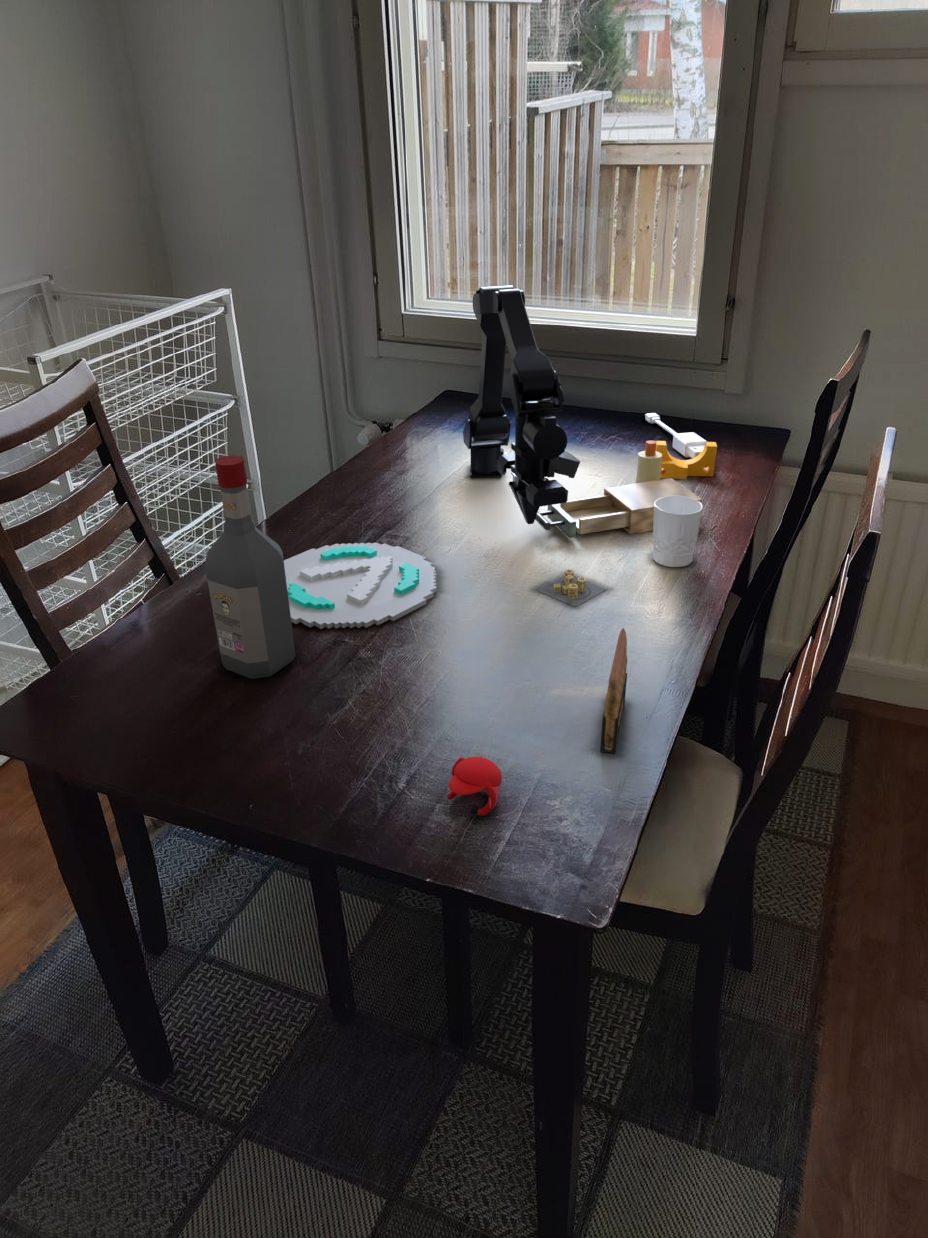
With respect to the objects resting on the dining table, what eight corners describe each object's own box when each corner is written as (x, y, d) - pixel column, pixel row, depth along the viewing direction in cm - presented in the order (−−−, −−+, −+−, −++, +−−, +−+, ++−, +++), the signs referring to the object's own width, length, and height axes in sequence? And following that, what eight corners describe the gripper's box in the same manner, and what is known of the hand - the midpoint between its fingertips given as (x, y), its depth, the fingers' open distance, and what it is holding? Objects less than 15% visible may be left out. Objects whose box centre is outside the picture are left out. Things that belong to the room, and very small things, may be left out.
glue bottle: (645, 499, 180) (650, 447, 174) (630, 491, 183) (634, 440, 178) (663, 493, 182) (668, 442, 176) (647, 486, 185) (652, 436, 180)
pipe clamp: (654, 477, 189) (657, 447, 186) (653, 470, 193) (656, 440, 190) (714, 479, 188) (718, 449, 185) (711, 471, 192) (715, 441, 188)
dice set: (568, 578, 151) (568, 568, 150) (592, 589, 148) (593, 578, 147) (548, 589, 148) (548, 578, 147) (572, 600, 145) (573, 589, 144)
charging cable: (657, 420, 224) (658, 407, 222) (714, 461, 195) (716, 446, 194) (637, 422, 223) (638, 408, 221) (692, 463, 195) (693, 448, 193)
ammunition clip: (610, 702, 121) (616, 623, 115) (624, 704, 121) (631, 625, 114) (600, 752, 112) (606, 669, 106) (615, 754, 112) (622, 671, 106)
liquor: (261, 685, 126) (229, 478, 111) (213, 666, 130) (176, 465, 115) (305, 654, 132) (281, 455, 117) (258, 637, 137) (229, 443, 122)
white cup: (700, 553, 159) (707, 499, 154) (690, 572, 152) (696, 517, 147) (655, 545, 161) (660, 492, 156) (643, 564, 155) (648, 509, 150)
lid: (471, 580, 151) (471, 572, 150) (340, 648, 134) (339, 638, 133) (358, 533, 168) (357, 525, 167) (229, 587, 150) (227, 579, 149)
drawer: (548, 542, 162) (548, 525, 160) (526, 520, 170) (527, 504, 168) (636, 527, 166) (638, 511, 165) (611, 507, 174) (613, 491, 173)
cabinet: (630, 534, 166) (632, 510, 163) (602, 510, 175) (604, 487, 173) (699, 522, 170) (702, 499, 167) (668, 500, 179) (671, 477, 176)
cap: (457, 777, 108) (456, 736, 105) (507, 785, 107) (507, 744, 104) (438, 823, 102) (437, 781, 99) (491, 832, 100) (491, 789, 97)
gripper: (598, 451, 151) (593, 537, 159) (553, 417, 166) (550, 498, 174) (535, 459, 148) (533, 547, 156) (496, 425, 163) (495, 506, 171)
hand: (529, 523), depth 164 cm, fingers closed
